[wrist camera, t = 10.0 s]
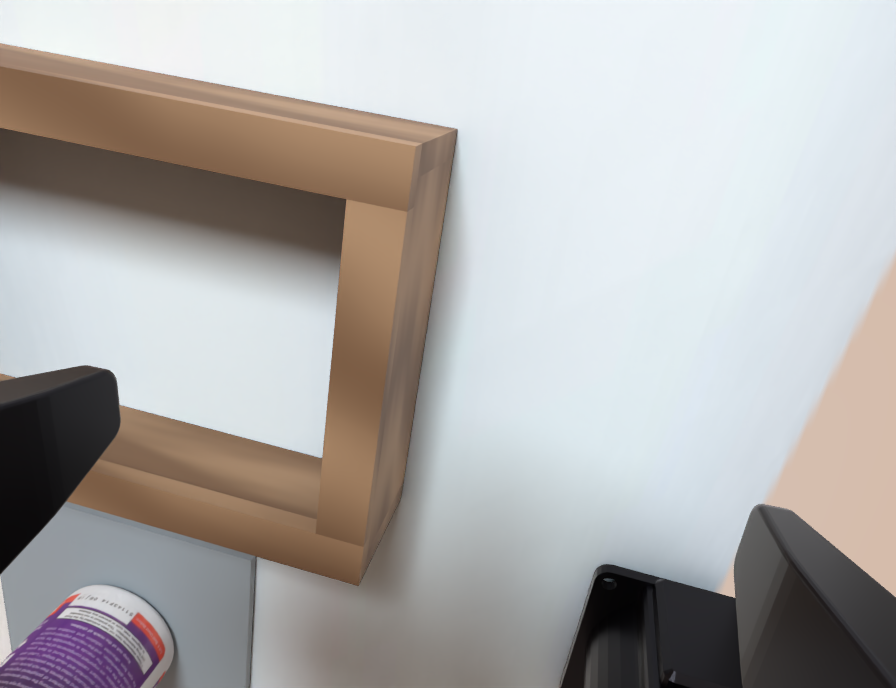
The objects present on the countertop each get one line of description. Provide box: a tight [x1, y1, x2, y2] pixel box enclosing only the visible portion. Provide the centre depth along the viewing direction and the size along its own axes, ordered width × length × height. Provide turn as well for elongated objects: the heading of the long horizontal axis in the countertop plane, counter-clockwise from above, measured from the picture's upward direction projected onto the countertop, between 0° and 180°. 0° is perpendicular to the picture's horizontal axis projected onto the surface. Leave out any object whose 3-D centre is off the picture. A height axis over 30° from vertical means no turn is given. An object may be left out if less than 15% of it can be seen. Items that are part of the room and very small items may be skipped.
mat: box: [0, 501, 256, 688], centre depth 30 cm, size 12×12×1 cm
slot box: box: [0, 44, 457, 586], centre depth 21 cm, size 13×19×5 cm
